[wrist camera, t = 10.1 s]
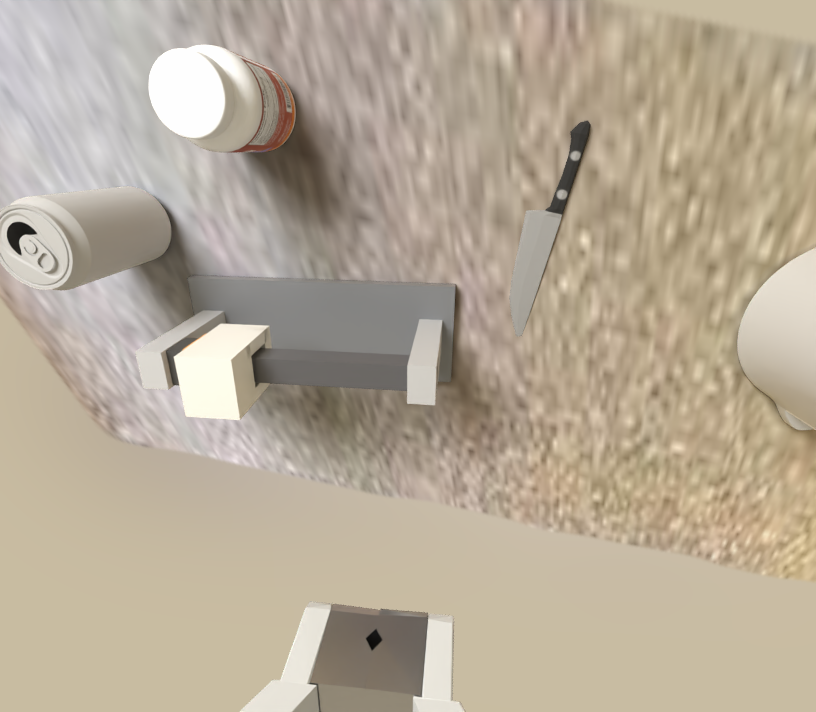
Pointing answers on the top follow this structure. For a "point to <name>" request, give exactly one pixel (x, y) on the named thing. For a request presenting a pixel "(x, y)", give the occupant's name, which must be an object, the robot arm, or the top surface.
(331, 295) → the grey slider rail base
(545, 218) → the chef's knife
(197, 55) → the pill bottle
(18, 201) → the beverage can
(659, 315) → the top surface
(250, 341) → the cream sliding block
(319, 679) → the robot arm
